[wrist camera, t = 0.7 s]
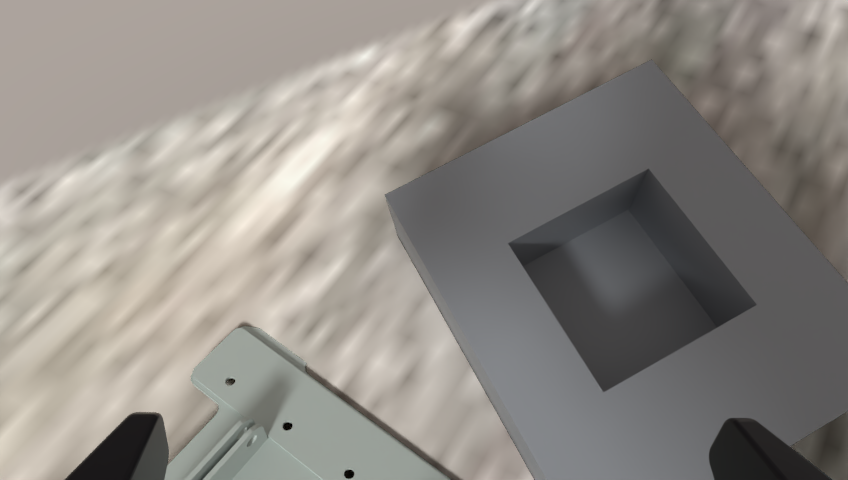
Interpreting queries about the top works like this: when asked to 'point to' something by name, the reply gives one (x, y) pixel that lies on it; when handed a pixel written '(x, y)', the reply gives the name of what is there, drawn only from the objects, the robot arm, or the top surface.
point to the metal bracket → (273, 407)
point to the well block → (627, 287)
